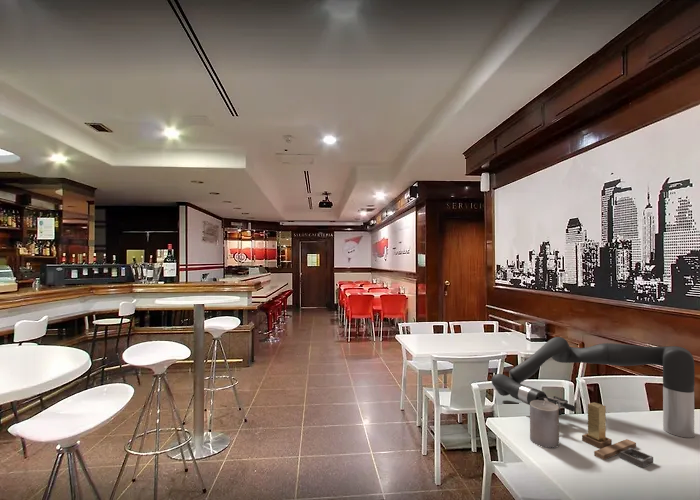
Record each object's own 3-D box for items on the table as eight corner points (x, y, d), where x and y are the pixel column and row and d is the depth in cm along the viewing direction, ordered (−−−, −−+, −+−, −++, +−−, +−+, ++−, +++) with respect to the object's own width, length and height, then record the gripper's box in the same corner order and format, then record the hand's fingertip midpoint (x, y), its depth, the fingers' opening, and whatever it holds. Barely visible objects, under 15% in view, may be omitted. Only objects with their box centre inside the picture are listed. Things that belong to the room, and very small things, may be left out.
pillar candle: (537, 432, 145) (537, 394, 145) (564, 443, 137) (563, 402, 137) (524, 440, 139) (524, 400, 139) (551, 451, 131) (551, 409, 131)
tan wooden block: (594, 439, 140) (594, 402, 140) (605, 444, 137) (605, 406, 137) (587, 441, 138) (587, 404, 139) (599, 446, 135) (599, 408, 135)
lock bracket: (603, 433, 145) (603, 428, 145) (663, 458, 127) (663, 452, 127) (570, 444, 136) (570, 439, 136) (630, 473, 118) (630, 466, 118)
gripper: (520, 390, 159) (556, 404, 144) (542, 385, 165) (579, 398, 151) (520, 408, 159) (556, 423, 144) (542, 402, 165) (579, 417, 151)
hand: (567, 410), depth 148 cm, fingers open, 8 cm apart
